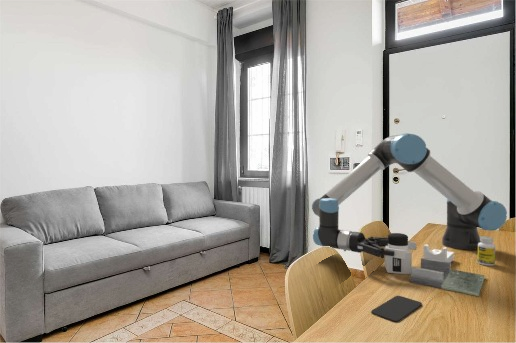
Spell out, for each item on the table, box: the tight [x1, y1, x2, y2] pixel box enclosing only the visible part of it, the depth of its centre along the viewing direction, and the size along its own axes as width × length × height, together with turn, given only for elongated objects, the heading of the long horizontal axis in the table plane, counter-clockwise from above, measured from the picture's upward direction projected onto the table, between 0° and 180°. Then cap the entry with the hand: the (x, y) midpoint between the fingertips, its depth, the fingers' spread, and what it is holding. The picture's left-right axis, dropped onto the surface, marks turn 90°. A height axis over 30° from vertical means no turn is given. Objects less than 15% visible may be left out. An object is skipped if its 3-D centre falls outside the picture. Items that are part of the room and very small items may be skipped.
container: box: [384, 232, 413, 275], centre depth 118 cm, size 8×8×13 cm
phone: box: [370, 295, 423, 323], centre depth 89 cm, size 7×1×15 cm
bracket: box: [423, 243, 455, 263], centre depth 126 cm, size 13×7×8 cm, turn 137°
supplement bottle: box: [476, 236, 496, 267], centre depth 124 cm, size 5×5×10 cm
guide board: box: [409, 257, 486, 297], centre depth 109 cm, size 18×18×4 cm
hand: (411, 250), depth 115 cm, fingers open, 13 cm apart
